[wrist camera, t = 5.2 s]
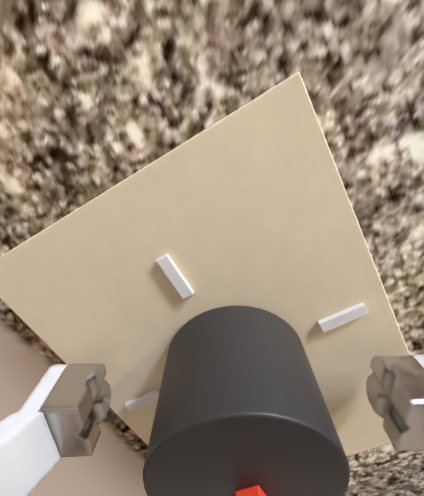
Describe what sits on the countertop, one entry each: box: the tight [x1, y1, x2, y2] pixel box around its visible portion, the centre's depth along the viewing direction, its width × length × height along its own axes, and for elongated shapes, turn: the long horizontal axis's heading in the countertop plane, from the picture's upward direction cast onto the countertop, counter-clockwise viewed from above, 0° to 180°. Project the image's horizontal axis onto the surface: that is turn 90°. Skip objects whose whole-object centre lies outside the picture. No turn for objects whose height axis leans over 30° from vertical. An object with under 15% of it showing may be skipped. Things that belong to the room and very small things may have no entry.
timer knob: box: [143, 306, 350, 496], centre depth 8 cm, size 4×4×4 cm
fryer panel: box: [0, 72, 410, 457], centre depth 11 cm, size 13×10×3 cm
